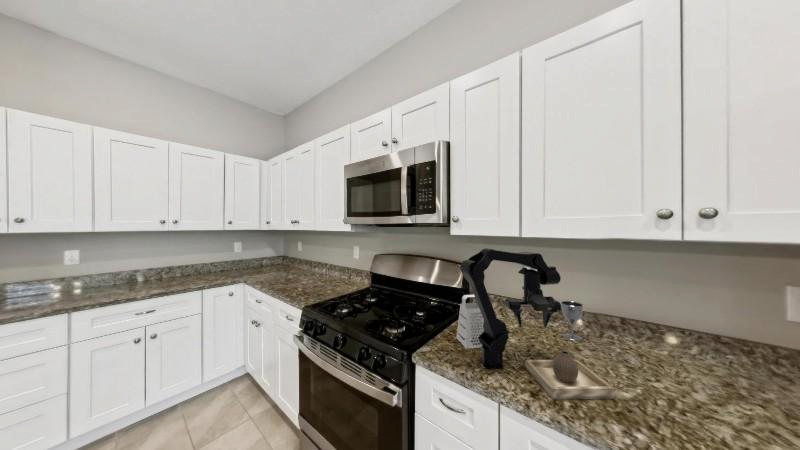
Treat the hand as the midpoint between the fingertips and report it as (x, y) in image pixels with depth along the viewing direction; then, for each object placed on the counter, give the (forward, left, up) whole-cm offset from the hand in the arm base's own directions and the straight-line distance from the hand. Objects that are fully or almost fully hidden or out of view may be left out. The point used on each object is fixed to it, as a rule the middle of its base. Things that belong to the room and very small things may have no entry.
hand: (532, 326), depth 97 cm
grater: (-19, +14, -12) cm, 27 cm away
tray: (+3, -15, -12) cm, 19 cm away
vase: (+3, -15, -11) cm, 19 cm away
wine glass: (+27, +18, -12) cm, 35 cm away
